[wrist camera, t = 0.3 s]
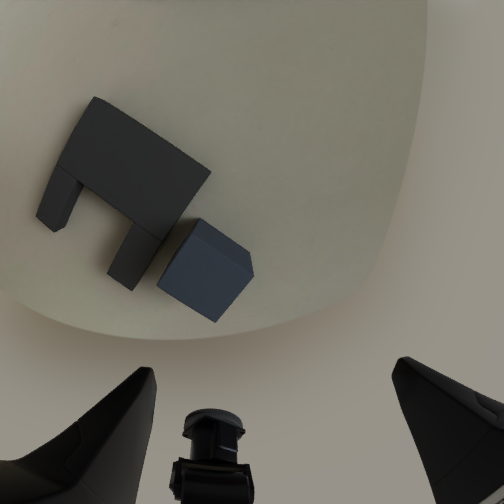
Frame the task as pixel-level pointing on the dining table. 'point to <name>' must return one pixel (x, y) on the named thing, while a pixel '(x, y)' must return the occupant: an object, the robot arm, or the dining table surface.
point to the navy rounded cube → (207, 271)
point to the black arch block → (123, 183)
